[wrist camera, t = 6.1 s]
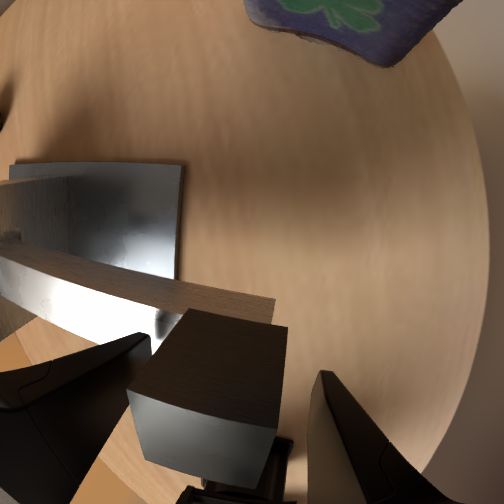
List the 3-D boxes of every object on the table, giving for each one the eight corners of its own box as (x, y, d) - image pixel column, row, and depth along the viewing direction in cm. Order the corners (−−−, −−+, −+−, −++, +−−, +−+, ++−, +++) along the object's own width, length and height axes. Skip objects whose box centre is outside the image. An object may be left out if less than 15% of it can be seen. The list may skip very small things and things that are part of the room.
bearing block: (185, 165, 15) (52, 167, 6) (176, 331, 19) (100, 436, 9) (14, 164, 17) (-74, 178, 8) (20, 277, 21) (-52, 317, 11)
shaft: (290, 293, 10) (277, 428, 4) (276, 358, 11) (255, 489, 5) (-5, 228, 12) (-76, 254, 6) (0, 271, 13) (-64, 304, 7)
